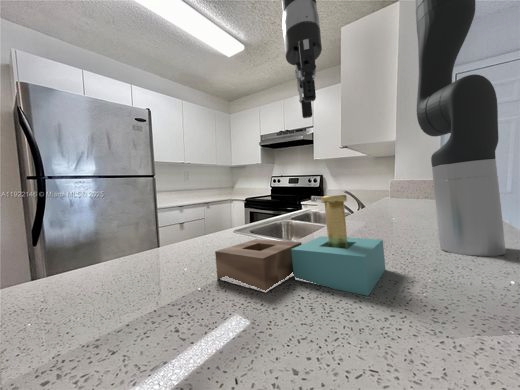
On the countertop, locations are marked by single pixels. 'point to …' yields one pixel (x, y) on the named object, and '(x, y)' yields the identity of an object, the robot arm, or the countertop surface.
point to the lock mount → (256, 262)
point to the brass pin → (335, 220)
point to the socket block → (340, 264)
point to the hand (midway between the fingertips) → (308, 109)
